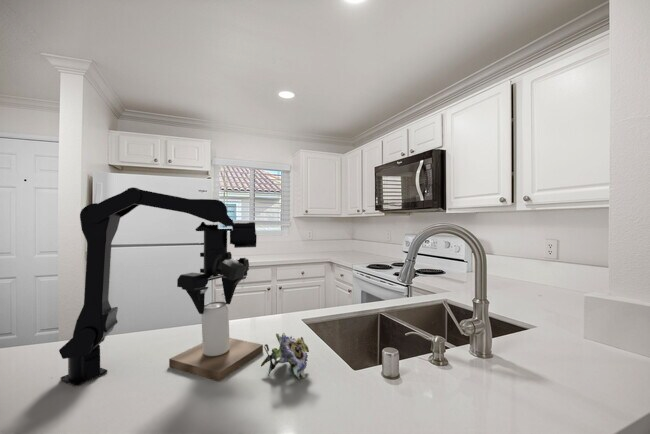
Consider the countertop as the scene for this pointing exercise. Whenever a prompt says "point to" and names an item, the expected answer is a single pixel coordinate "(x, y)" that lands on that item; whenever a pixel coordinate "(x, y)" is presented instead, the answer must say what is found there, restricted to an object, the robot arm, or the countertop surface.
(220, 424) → the countertop surface
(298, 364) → the passion flower
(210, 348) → the can
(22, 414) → the countertop surface
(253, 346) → the cutting board
